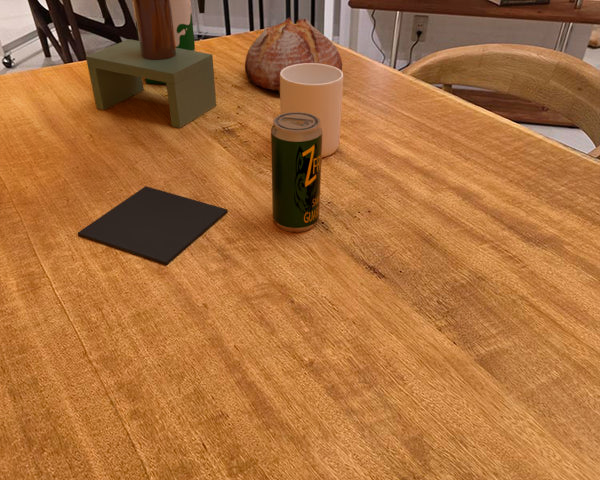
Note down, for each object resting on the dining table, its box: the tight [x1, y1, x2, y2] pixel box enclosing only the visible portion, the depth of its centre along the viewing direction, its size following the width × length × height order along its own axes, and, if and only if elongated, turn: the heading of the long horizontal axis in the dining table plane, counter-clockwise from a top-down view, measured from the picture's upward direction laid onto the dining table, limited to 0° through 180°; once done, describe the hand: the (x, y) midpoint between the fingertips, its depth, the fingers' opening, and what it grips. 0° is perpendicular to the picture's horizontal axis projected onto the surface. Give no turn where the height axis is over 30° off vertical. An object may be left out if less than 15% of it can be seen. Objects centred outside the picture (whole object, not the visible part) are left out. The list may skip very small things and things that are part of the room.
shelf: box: [85, 38, 217, 129], centre depth 91 cm, size 16×10×8 cm, turn 63°
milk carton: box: [131, 0, 196, 86], centre depth 98 cm, size 9×9×20 cm
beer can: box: [270, 112, 322, 233], centre depth 64 cm, size 5×5×12 cm
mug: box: [279, 63, 344, 159], centre depth 82 cm, size 12×8×10 cm
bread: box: [244, 16, 343, 94], centre depth 102 cm, size 16×20×10 cm
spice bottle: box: [132, 0, 176, 60], centre depth 85 cm, size 5×5×12 cm
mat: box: [77, 185, 229, 266], centre depth 67 cm, size 12×12×1 cm
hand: (153, 7), depth 85 cm, fingers open, 13 cm apart
